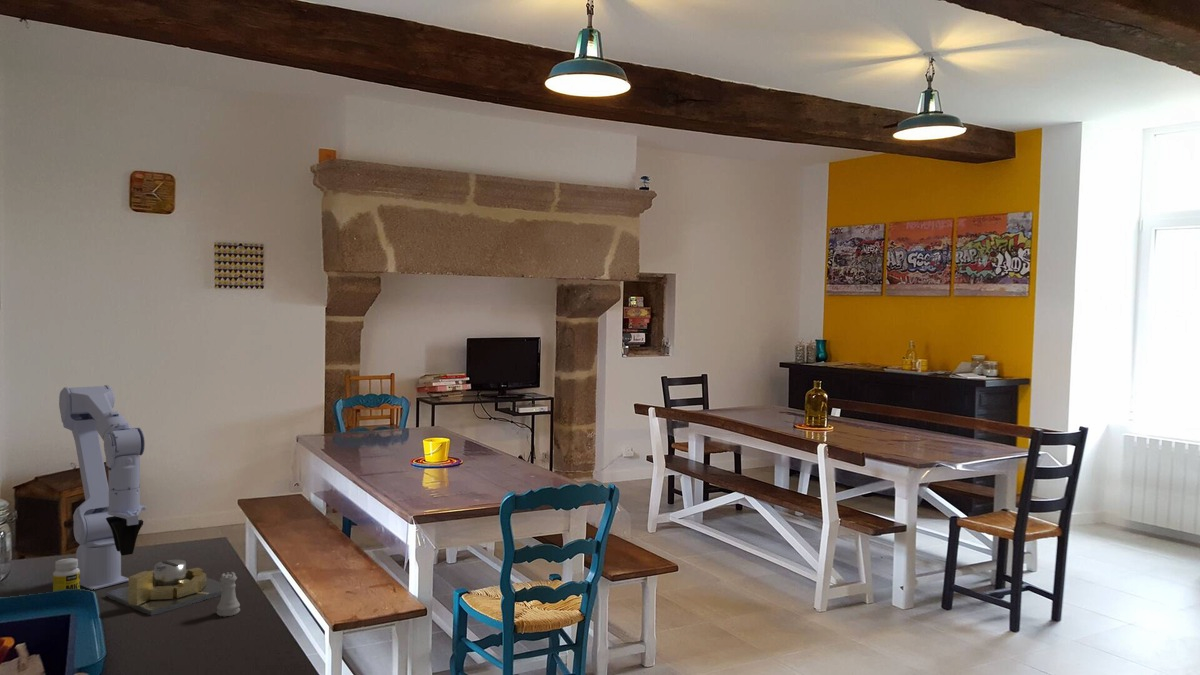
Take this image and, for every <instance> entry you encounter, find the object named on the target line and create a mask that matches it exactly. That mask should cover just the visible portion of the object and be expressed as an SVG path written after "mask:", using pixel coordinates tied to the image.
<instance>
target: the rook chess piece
mask: <svg viewBox="0 0 1200 675" xmlns="http://www.w3.org/2000/svg"><path fill="white" fill-rule="evenodd" d="M237 579H238V577H237V576H236V573H235V572H234V571H231V572H229V571H228V572H227V571H226V573H224V572H222V574H221V577H220V578H219V582H221V583H222V586H221V588H222V595H221V596H220V600H219V603H218V604H217V605H216V609H217V611H216V614H217V615H218V616H219V617H222V616H223V618H225V617H226V616H229V617H234V616H236V615H238V614H239V612H241V608H240V606H241V604H240V602H239V601H238V600H239V599H238V598H237V595H236V594H237V593H236V586H237V585H236V580H237ZM233 615H234V616H233Z"/></svg>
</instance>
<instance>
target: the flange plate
mask: <svg viewBox="0 0 1200 675" xmlns="http://www.w3.org/2000/svg"><path fill="white" fill-rule="evenodd" d="M186 569H187V562H186V560H183V559H167V560H162V561H159V562H156V563H155V564H154V570H155V586H174V585H177V581H181V580H184V579H186ZM221 586H222V582H221V581H218V580H216V579H213V578H209V577H207V576H206V585H205V586H204V587H203V589H202V590H201V591H198V592H197V593H193V594H190V595H186V596H183V597H179V598H176V597H174V598H173V599H155V600H149V601H146V602H144V603H142V604H140V605H137V606H136V605H129V585H127V586H123V587H120V588H115V589H111V590H107V591H105V592H104V595H105V596H107V597H110V598H112V599H114V600H116V601H115V602H117V601H118V602H117V603H119V602H120V603H119V604H122V603H123V604H122V605H124V604H125V605H124V606H126V605H127V607H129V606H130V607H129V608H131V607H132V609H133V608H134V610H136V611H139V612H141V613H143V614H145V613H146V615H149V616H150V617H152V616H156V615H159V614H162V613H167V612H168V611H169V612H170V611H172V610H176V609H180V608H183V607H186V606H191V605H193V604H196V602H197V603H199V602H202V601H203V600H204V601H206V599H207V600H210V598H211V599H213V597H214V598H218V597H221V595H222V588H221ZM107 597H106V598H107ZM110 598H109V599H110ZM112 599H111V600H112ZM114 600H113V601H114ZM204 601H203V602H204ZM192 603H193V604H192Z"/></svg>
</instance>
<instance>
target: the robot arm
mask: <svg viewBox="0 0 1200 675" xmlns="http://www.w3.org/2000/svg"><path fill="white" fill-rule="evenodd" d="M58 398H59V400H58V407H59V413H60V418H61V419H60V420H61V422H62V426H63V428H64V429H67V430H69V431H71V433H72V436H73V439H74V445H75V448H76V455H77V460H78V465H79V471H80V478H81V483H82V489H83V493H84V499H85V500H84V501H83V502H82V503H81V504H80V505H79V506H77V507H76V508H75V510H74V513H73V515H72V518H73V526H72V528H73V529H72V530H73V536H74V539H75V541H76V543H78V544H79V546H78V547H77V548H76V551H75V559H78V567H77V568H79V570H80V587H83V588H86V589H89V590H90V591H94V590H98V589H99V590H100V589H103V588H106V587H111V586H115V585H118V584H122V583H127V582H129V577H127V576H123V575H122V556H129V555H133V553H134V550H135V547H136V542H137V538H138V536H139V533H140V530H141V528H142V527H143V525H144V520H143V519H139V515H140V514H141V512H142V511H147V506H146V504H145V505H143V504H141V456H142V455H143V454H144V453H145V452H144V451H145V445H146V442H145V441H146V440H145V436H144V433H143V431H142V429H141V428H140V427H132V426H131V425H130V423H129V422H128V421H127V419H126V418H125V417H124V415H123V414H122V413H120V412H119V411H118V410H116V411H114V407H115V393H114V389H113V388H112V387H111V386H110V385H109V384H105V385H101V386H100V385H99V386H97V385H96V386H95V385H94V386H79V387H67V386H65V387H63V388H62V389H61V390H60V392H59V396H58ZM100 438H101V439H102V442H103V450H104V454H105V461H104V457H103V450H102V446H101V441H100ZM104 462H105V463H104ZM105 466H106V467H108V468H107V469H108V478H107V472H106V468H105ZM93 589H94V590H93Z"/></svg>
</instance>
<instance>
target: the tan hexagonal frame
mask: <svg viewBox="0 0 1200 675" xmlns="http://www.w3.org/2000/svg"><path fill="white" fill-rule="evenodd" d="M206 577H207V573H205V572H203V568H200V567H193V568H189V569H187V568H186V579H184V580H181V581H177V585H174V586H155V569H152V570H149V571H148V570H143V571H140V572H137V573H136V574H133V575H130V576H128V578H129V581H128V586H129V605H136V606H137V605H140V604H142V603H144V602H146V601H149V600H155V599H173V598H174V597H176V598H179V597H183V596H186V595H190V594H193V593H197V592H198V591H201V590H202V589H203V587H204V586H205V585H206Z"/></svg>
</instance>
